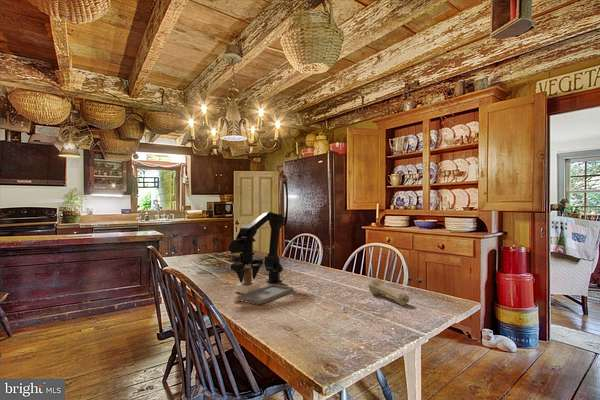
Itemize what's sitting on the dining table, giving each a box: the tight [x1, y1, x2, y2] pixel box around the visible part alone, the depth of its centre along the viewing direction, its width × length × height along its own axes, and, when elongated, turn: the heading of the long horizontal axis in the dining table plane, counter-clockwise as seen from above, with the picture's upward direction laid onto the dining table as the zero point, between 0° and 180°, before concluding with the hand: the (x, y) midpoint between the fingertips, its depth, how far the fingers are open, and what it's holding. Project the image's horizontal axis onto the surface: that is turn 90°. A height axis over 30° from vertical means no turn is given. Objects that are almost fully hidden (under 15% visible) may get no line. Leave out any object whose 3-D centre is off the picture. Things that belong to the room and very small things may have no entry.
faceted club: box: [367, 277, 410, 307], centre depth 145 cm, size 9×8×25 cm
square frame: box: [234, 281, 261, 294], centre depth 161 cm, size 9×9×4 cm
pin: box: [243, 267, 253, 286], centre depth 161 cm, size 4×4×12 cm
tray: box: [237, 283, 294, 306], centre depth 154 cm, size 26×14×2 cm, turn 145°
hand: (247, 280), depth 161 cm, fingers open, 9 cm apart
